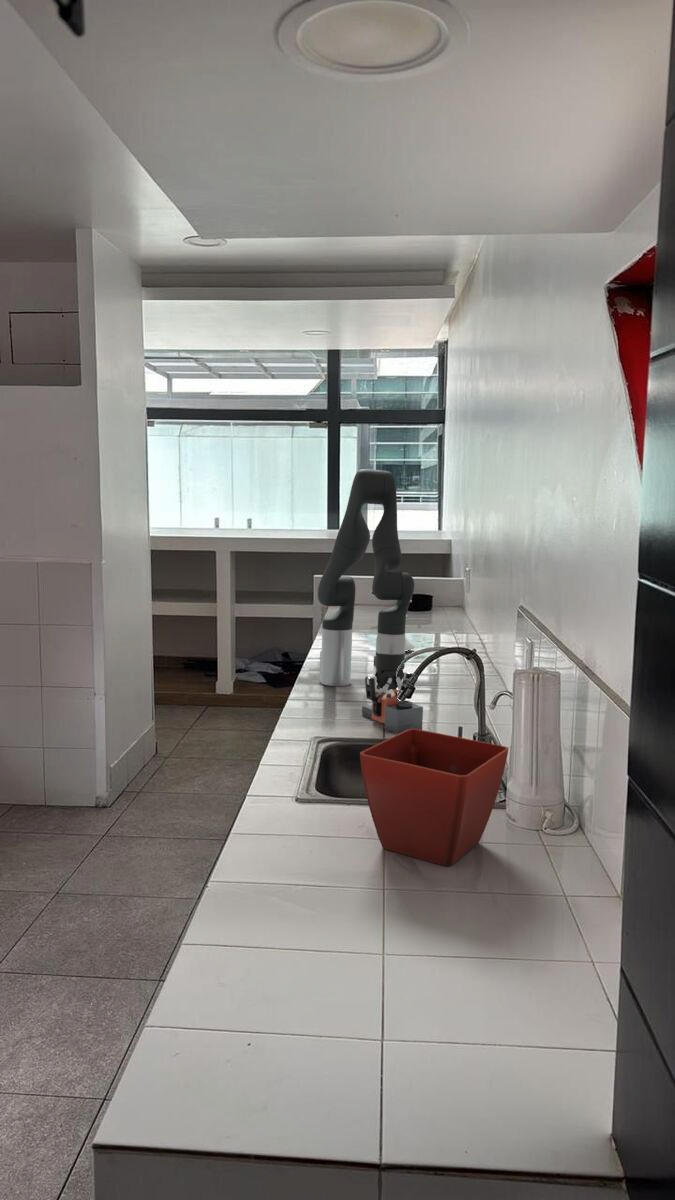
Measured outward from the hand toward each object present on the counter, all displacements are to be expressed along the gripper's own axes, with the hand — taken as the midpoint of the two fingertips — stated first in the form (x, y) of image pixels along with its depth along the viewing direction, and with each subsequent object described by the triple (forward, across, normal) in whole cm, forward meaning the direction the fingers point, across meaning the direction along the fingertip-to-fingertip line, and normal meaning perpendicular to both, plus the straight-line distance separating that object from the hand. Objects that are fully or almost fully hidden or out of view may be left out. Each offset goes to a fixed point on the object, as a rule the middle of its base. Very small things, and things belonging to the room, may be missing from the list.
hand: (387, 714), depth 224 cm
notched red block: (+1, 0, 0) cm, 1 cm away
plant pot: (+2, +41, +66) cm, 78 cm away
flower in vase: (+3, -67, -81) cm, 105 cm away
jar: (+3, -17, -23) cm, 29 cm away
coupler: (+2, 0, 0) cm, 2 cm away
